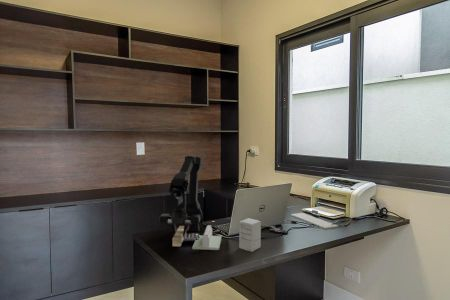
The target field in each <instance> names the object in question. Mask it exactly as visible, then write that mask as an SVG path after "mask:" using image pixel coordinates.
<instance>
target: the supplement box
mask: <svg viewBox="0 0 450 300" xmlns="http://www.w3.org/2000/svg"><path fill="white" fill-rule="evenodd" d="M261 235H262V227H261V221H259V220H258V219H253V218H249V217H248V218H245V219H243V220H240V221H239V235H238V236H239V237H238V238H239V240H238V242H239V243H238V245H239V247H238V248H239V249H241V250H244V251H248V252H251V253H252V252H254V251H256V250H258V249H260V248H261V244H262V243H261V238H262V237H261Z"/></svg>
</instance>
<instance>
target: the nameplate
mask: <svg viewBox="0 0 450 300" xmlns="http://www.w3.org/2000/svg"><path fill="white" fill-rule="evenodd" d="M268 229H269V233H274V234H277V235H285V236H287V235H288V234H289V232H288V231H287V230H286V229H281V227H276V226H269V228H268Z"/></svg>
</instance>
